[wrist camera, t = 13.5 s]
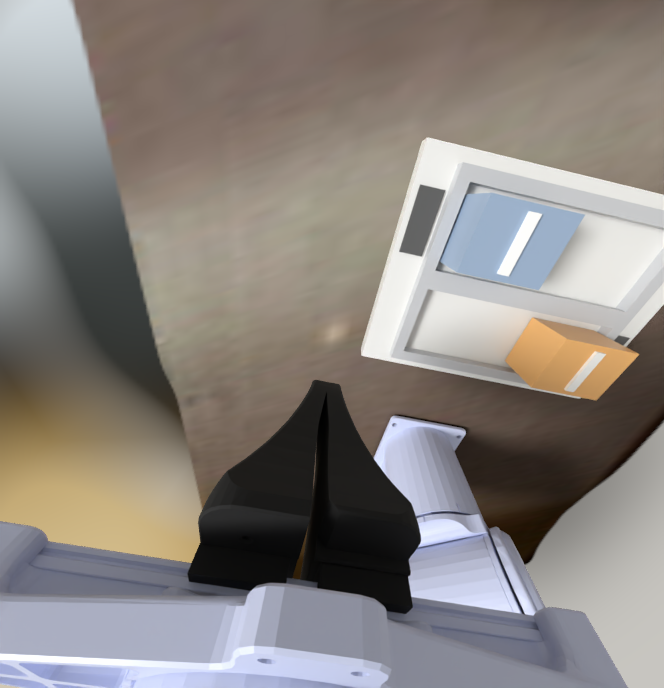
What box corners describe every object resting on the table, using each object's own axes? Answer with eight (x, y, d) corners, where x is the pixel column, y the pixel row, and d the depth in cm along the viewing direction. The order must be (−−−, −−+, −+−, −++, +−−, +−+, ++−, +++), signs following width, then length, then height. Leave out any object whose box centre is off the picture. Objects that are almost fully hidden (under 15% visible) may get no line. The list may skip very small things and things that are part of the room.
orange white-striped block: (561, 372, 21) (598, 402, 18) (504, 360, 21) (532, 389, 18) (593, 330, 20) (642, 355, 16) (532, 317, 19) (569, 340, 16)
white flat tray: (569, 390, 24) (587, 405, 22) (360, 348, 23) (362, 360, 21) (718, 213, 17) (762, 215, 15) (422, 141, 16) (431, 134, 14)
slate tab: (506, 275, 18) (541, 291, 15) (437, 260, 18) (458, 273, 14) (539, 212, 16) (588, 215, 13) (463, 194, 16) (493, 192, 12)
